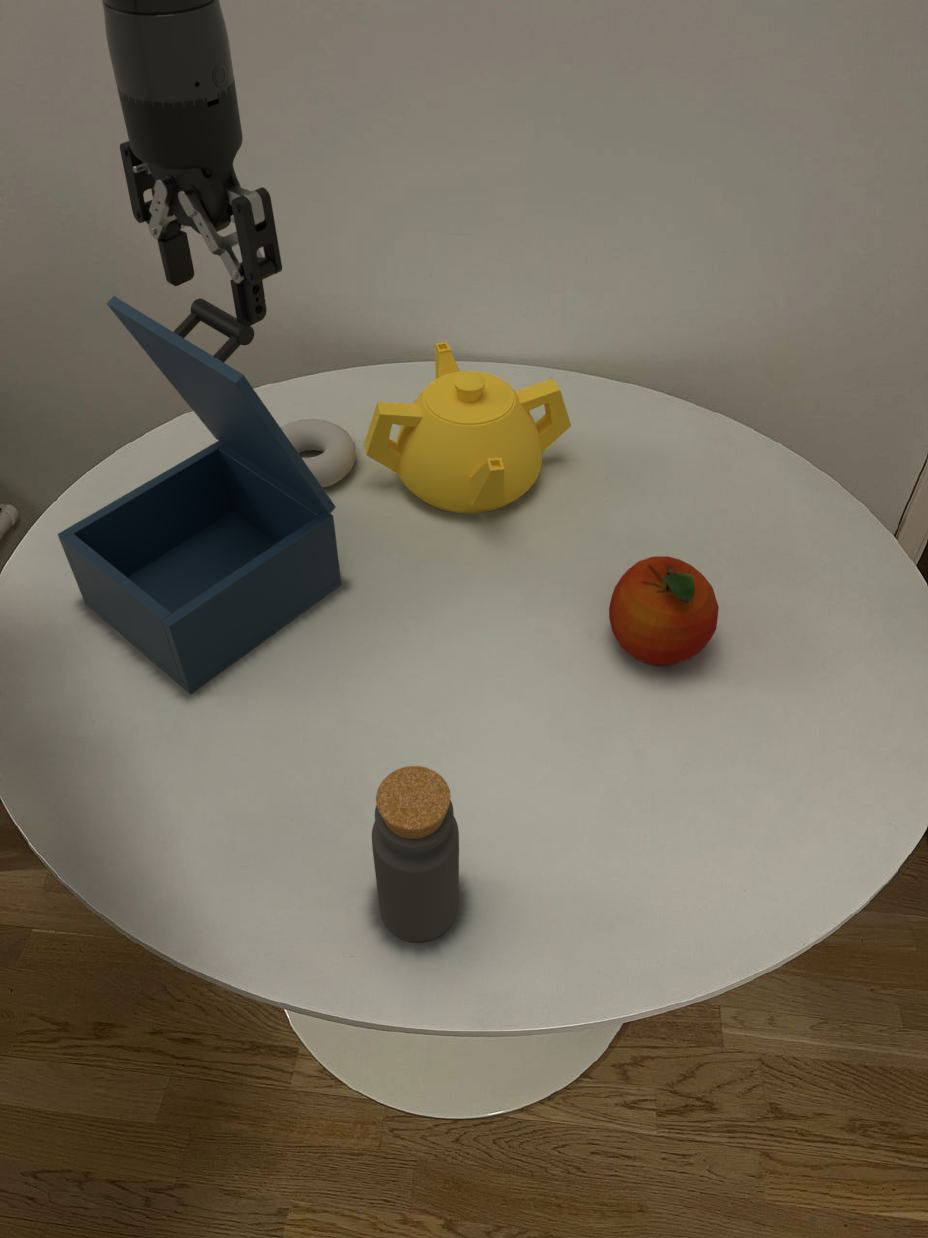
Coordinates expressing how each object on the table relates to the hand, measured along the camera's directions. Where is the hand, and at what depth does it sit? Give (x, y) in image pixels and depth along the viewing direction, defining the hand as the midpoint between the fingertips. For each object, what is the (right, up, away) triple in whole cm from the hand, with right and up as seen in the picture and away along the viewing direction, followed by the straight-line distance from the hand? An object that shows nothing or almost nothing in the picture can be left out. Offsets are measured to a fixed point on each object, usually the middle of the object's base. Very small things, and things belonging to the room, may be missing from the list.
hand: (216, 301), depth 77 cm
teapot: (+20, -9, +30) cm, 37 cm away
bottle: (+16, -46, -3) cm, 49 cm away
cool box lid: (-1, -7, +7) cm, 10 cm away
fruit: (+37, -27, +15) cm, 48 cm away
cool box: (-5, -22, +18) cm, 29 cm away
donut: (+3, -8, +31) cm, 32 cm away
